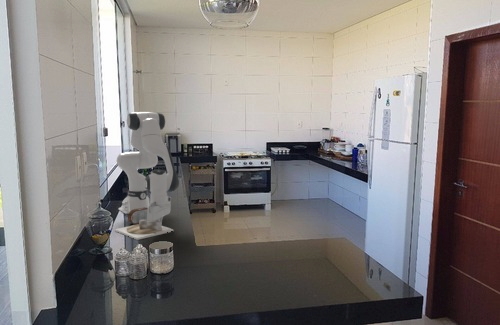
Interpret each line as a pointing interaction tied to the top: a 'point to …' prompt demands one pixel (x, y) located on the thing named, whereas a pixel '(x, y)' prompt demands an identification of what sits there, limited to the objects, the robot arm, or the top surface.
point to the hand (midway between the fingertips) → (159, 225)
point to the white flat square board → (141, 236)
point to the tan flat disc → (145, 227)
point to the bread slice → (137, 215)
